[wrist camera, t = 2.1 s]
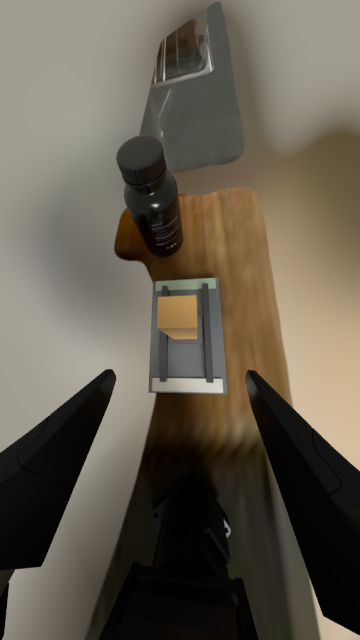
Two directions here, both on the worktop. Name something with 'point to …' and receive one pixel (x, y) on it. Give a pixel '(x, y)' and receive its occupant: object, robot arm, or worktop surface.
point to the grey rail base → (189, 359)
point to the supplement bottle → (151, 194)
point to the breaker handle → (180, 319)
